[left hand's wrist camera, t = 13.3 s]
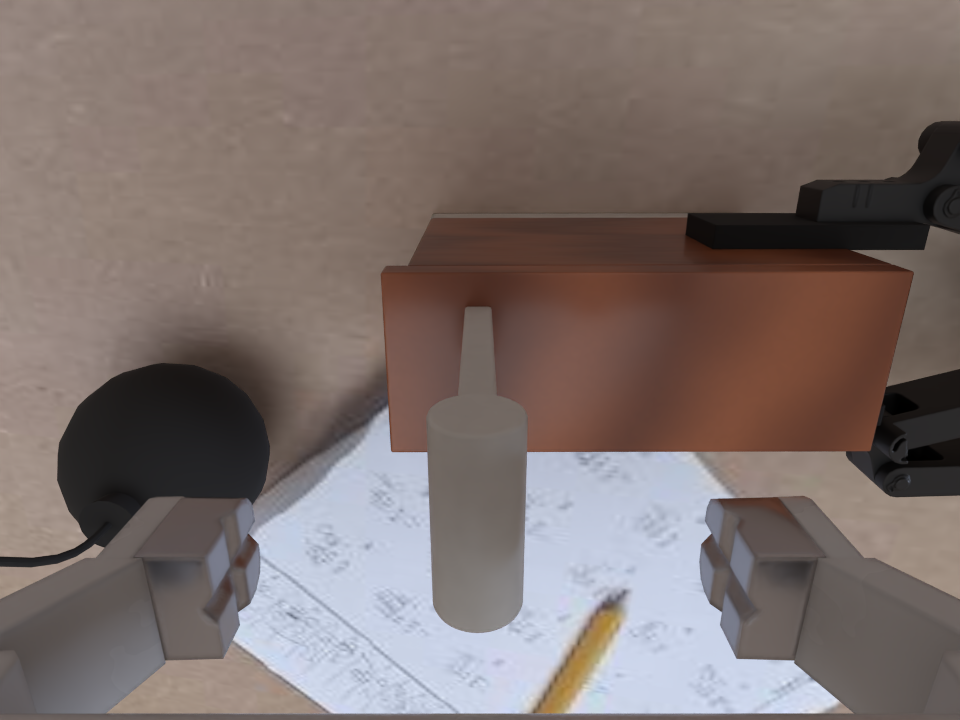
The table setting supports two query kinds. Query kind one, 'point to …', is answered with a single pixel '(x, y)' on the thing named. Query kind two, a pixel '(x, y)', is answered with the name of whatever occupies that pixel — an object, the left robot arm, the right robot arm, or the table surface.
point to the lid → (615, 383)
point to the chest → (594, 243)
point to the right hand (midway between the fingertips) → (690, 319)
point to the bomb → (155, 449)
